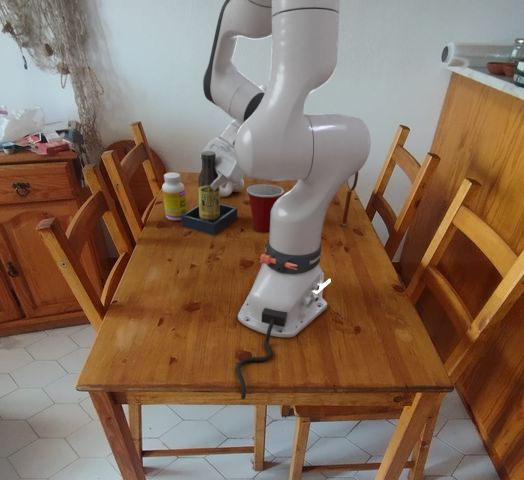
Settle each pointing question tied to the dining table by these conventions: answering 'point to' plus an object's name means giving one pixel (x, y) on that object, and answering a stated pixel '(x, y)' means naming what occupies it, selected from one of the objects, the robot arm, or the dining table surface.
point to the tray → (194, 222)
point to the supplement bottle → (174, 196)
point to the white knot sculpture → (230, 187)
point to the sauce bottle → (208, 189)
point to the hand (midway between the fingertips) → (206, 183)
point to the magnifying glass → (349, 194)
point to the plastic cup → (263, 204)
